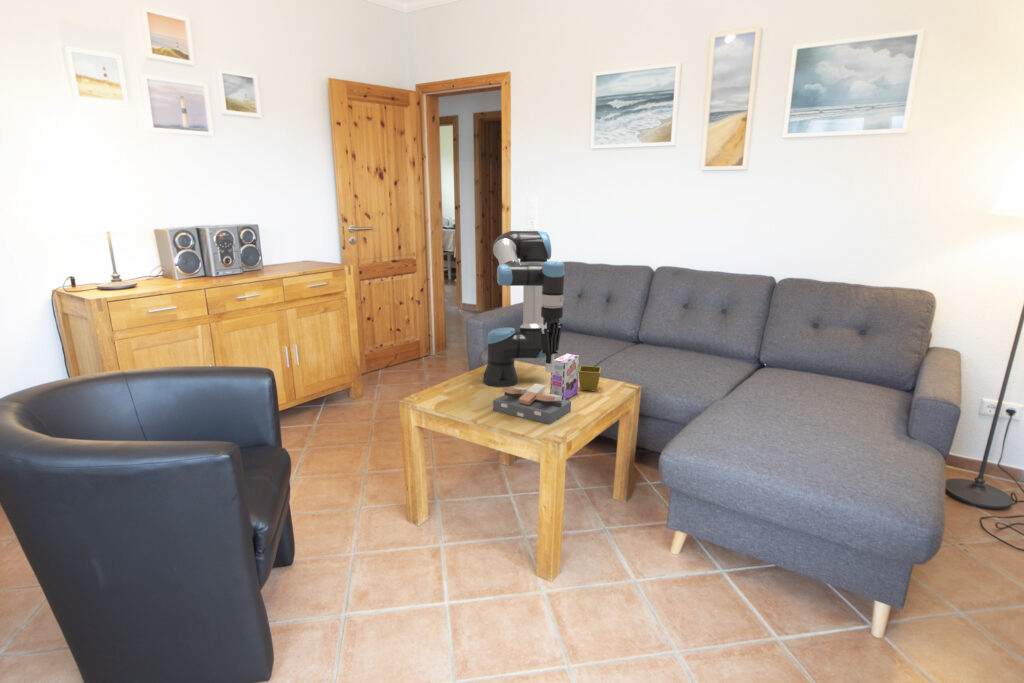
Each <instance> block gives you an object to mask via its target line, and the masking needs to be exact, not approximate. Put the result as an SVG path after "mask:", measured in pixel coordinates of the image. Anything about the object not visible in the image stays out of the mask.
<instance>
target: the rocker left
mask: <svg viewBox="0 0 1024 683" xmlns="http://www.w3.org/2000/svg"><path fill="white" fill-rule="evenodd" d="M529 389H530V388H524V387H519V386H517V387H512V386H511V387H510V386H502V392H503V393H505V392H506V393H511V394H524V393H526V392H527V391H528V390H529Z"/></svg>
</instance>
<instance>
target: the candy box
mask: <svg viewBox="0 0 1024 683" xmlns="http://www.w3.org/2000/svg"><path fill="white" fill-rule="evenodd" d="M579 366H580V355H577V354H572V353H565V354H563V355H561V356H557V357H556V358H555V359H554V372H552V373H551V372H550V373H551V374H550V388H549V391H550V392H549V394H554V395H558V396H562V399H563V400H567V401H568V400H569V399H571V398H572V397H575V395H577V394H578V393H579V392H578V391H579V390H578V388H579V387H578V386H579V369H580V367H579Z"/></svg>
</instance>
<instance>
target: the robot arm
mask: <svg viewBox="0 0 1024 683" xmlns="http://www.w3.org/2000/svg"><path fill="white" fill-rule="evenodd" d="M492 253H493V255H494V257H495V258H496V259H497V261H498V266H497V267H496V268H497V270H496V279H497V280H496V281H497V284H498V286H506V287H510V286H511V287H517V286H518V287H519V286H521V287H522V286H523V291H522V292H523V298H522V299H523V300H522V301H523V302H522V303H523V307H522V308H523V310H522V311H523V312H522V313H523V314H522V324H521V325H520V326H519V330H518V331H516V329H515V328H514V327H510V326H509V327H508V326H507V327H498V328H494V329H492V330H490V331H489V332H488V334H487V341H486V343H487V355H486V356H487V364H486V367H485V370H484V373H483V376H482V382H483V383H484V384H486V385H488V386H490V387H491V386H492V387H502V388H503V387H510V386H511V387H512V386H514V385H517V384H518V383H519V376H518V372H517V370H516V366H515V359H543V358H545V368H544V369H545V370H544V371H545V372H548V373H552V372H554V359H556V358H555V355H556V354H557V355H558V353H559V352H558V351H559V349H560V348H559V347H560V340H561V333H562V330H563V326H564V325H563V323H560V319H562V318H563V317H564V316H563V312H564V308H563V305H564V301H565V300H564V299H565V298H564V289H565V287H564V285H565V273H566V271H565V264H564V262H562V261H553V260H551V261H548V260H550V259H551V258H552V243H551V239H550V235H549V234H548V233H547V232H546V231H538V230H510V231H506V232H504V233H502V234H500V235H499V236H498V237H497V238H496V239H495V240H494V241H493V245H492Z"/></svg>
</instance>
